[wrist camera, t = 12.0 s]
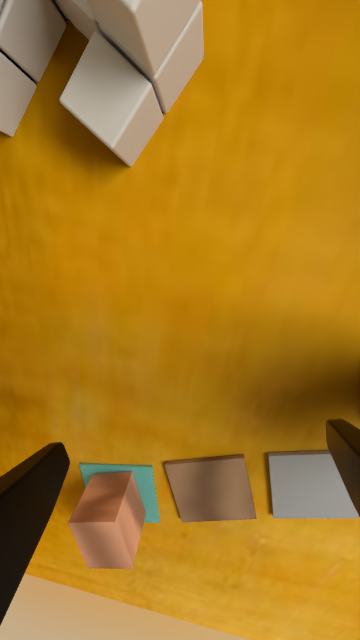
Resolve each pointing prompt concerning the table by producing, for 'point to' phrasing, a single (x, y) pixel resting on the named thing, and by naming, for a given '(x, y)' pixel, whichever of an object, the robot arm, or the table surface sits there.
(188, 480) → the walnut coaster
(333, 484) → the slate coaster
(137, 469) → the teal tile
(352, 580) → the table surface
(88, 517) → the terracotta brick
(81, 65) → the puzzle cube
